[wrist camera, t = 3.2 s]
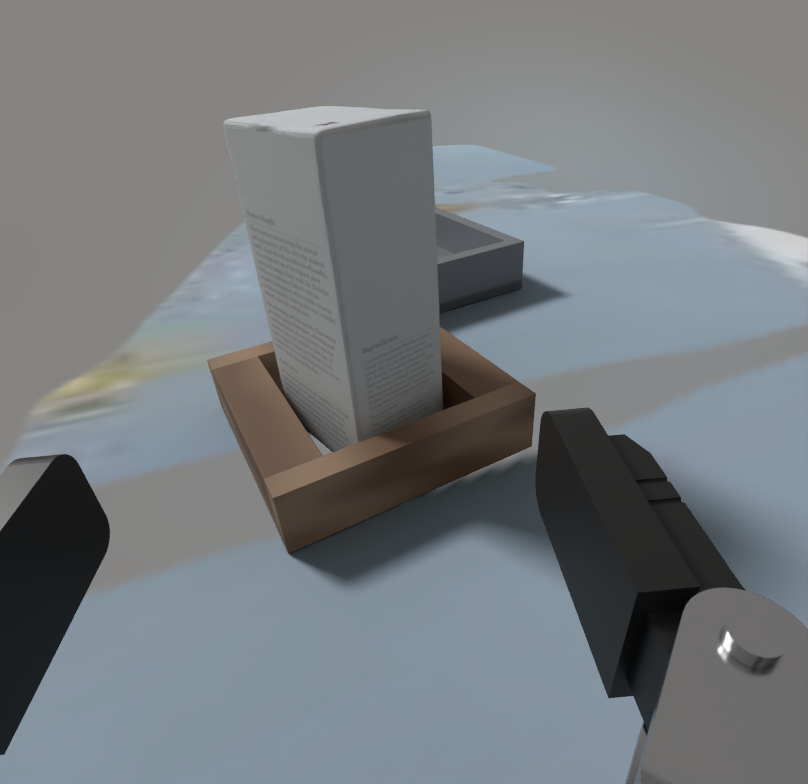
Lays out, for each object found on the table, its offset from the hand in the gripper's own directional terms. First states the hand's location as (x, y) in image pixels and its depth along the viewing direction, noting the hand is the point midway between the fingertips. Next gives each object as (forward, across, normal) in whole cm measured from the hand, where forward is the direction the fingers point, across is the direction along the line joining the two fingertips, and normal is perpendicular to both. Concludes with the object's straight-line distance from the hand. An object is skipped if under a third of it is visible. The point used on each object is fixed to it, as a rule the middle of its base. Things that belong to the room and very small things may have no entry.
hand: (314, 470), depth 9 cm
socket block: (+11, 0, +8) cm, 14 cm away
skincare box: (+11, 0, +8) cm, 14 cm away
